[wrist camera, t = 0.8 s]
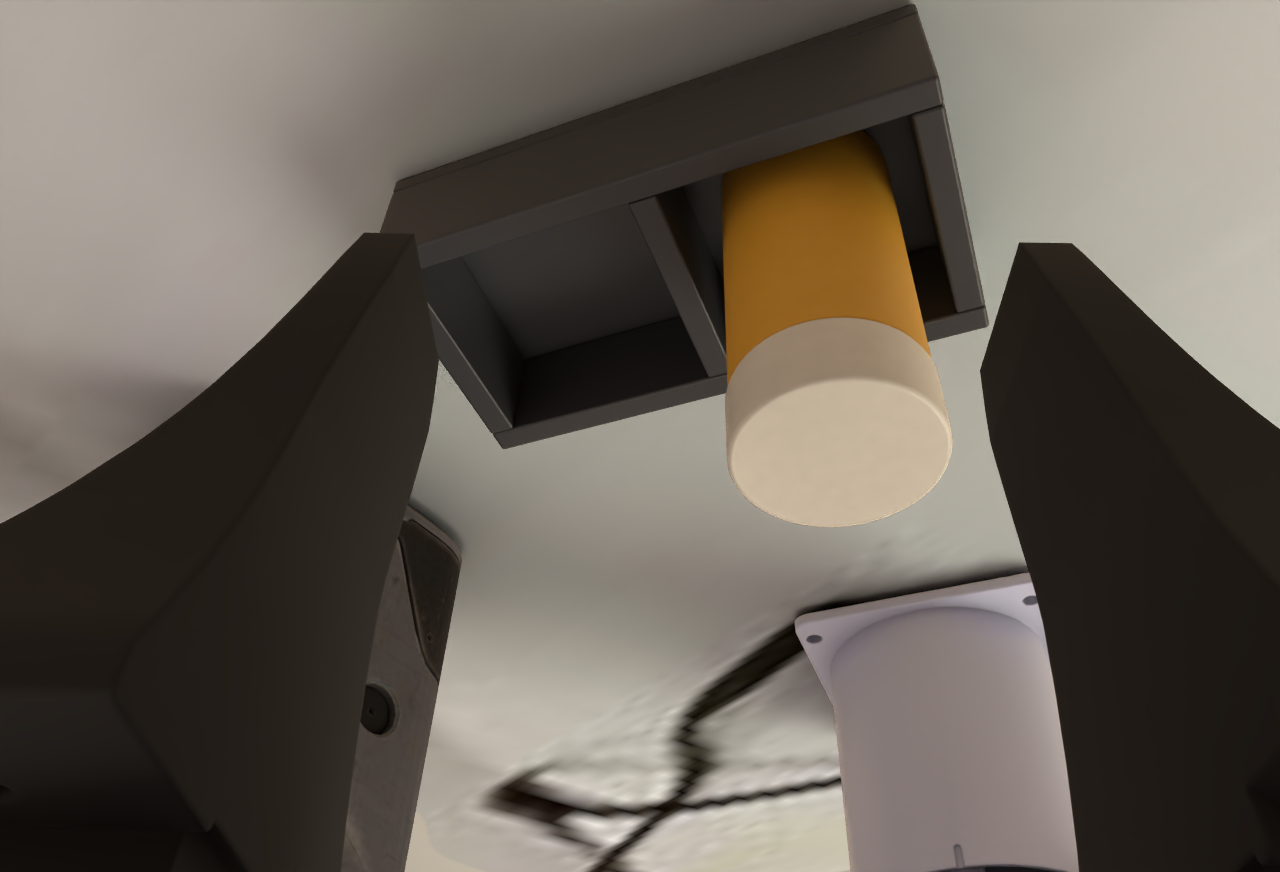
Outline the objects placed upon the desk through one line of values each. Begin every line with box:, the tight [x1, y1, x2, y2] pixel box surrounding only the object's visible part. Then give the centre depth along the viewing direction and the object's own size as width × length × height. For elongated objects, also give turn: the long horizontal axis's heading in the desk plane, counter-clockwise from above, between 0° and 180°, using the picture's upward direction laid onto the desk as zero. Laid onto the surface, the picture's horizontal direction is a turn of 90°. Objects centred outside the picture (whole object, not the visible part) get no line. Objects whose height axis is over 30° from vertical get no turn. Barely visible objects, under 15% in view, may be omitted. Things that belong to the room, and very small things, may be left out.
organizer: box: [380, 4, 989, 449], centre depth 23 cm, size 6×12×3 cm, turn 112°
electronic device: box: [341, 505, 462, 872], centre depth 25 cm, size 9×6×20 cm, turn 37°
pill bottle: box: [721, 130, 953, 527], centre depth 20 cm, size 4×4×8 cm
